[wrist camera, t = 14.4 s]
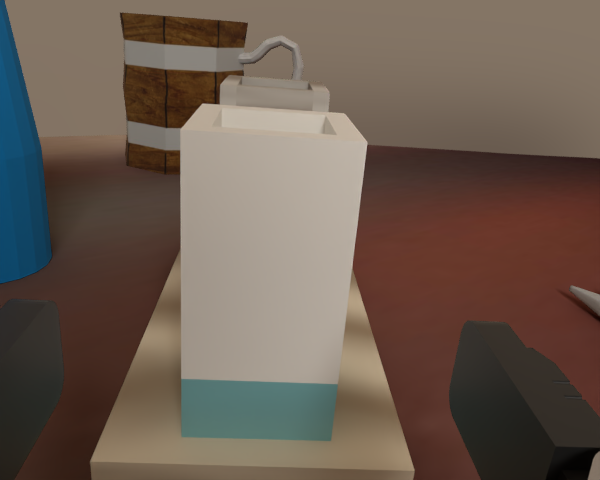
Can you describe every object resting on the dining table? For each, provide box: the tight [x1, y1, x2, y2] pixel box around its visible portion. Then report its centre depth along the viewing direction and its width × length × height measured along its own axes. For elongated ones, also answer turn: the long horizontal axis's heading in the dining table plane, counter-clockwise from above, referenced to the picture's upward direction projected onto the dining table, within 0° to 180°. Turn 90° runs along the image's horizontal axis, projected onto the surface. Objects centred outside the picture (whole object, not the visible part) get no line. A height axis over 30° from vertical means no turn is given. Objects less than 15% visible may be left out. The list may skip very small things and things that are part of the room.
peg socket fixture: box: [90, 75, 415, 480], centre depth 26 cm, size 20×11×12 cm, turn 2°
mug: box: [120, 13, 304, 174], centre depth 59 cm, size 20×14×15 cm
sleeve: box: [180, 103, 367, 441], centre depth 20 cm, size 5×5×11 cm
